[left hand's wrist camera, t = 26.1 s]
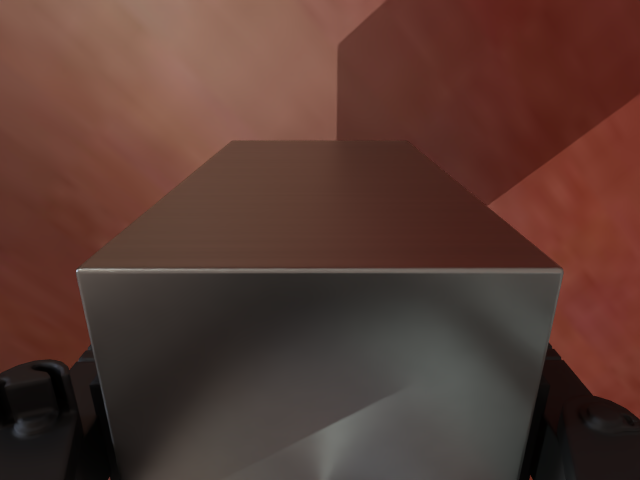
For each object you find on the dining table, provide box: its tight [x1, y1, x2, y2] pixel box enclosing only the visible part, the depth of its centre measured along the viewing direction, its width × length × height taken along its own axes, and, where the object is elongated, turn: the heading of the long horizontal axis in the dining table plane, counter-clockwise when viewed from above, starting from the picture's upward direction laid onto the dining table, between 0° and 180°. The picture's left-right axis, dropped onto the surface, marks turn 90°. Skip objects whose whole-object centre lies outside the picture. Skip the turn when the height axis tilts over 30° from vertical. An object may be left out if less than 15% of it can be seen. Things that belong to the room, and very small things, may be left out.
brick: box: [76, 141, 563, 480], centre depth 13 cm, size 7×8×12 cm
